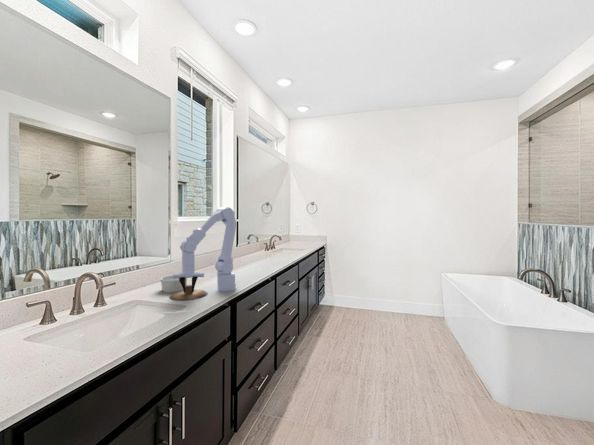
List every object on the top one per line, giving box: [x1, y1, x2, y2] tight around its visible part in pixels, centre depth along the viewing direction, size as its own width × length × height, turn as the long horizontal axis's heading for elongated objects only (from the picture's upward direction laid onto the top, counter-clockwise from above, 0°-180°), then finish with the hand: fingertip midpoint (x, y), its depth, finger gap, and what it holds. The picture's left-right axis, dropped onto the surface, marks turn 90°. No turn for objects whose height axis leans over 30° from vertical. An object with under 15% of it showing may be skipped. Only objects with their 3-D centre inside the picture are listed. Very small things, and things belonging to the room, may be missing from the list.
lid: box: [170, 284, 207, 301], centre depth 140 cm, size 16×16×5 cm
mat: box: [168, 291, 209, 302], centre depth 140 cm, size 18×18×1 cm
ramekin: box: [160, 275, 188, 293], centre depth 152 cm, size 13×13×7 cm
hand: (188, 292), depth 140 cm, fingers closed on lid, 3 cm apart
